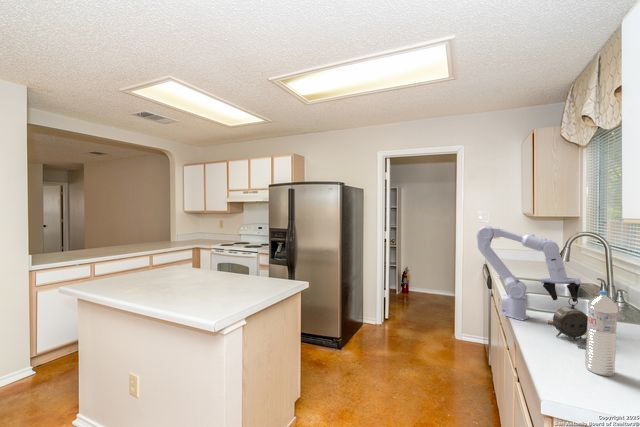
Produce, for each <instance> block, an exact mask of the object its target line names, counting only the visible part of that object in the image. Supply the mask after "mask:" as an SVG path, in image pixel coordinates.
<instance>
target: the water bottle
mask: <svg viewBox="0 0 640 427" xmlns="http://www.w3.org/2000/svg"><path fill="white" fill-rule="evenodd" d="M598 293H599V295H596V296H594V297H593V298H591V299H590V300H589V301H588V303H587V317H588V324H587V335H586V336H585V338H586V350H585V358H584V359H585V360H584V362H585V363H584V365H585V368H586V369H587V370H588V371H590V372H591V373H593V374H596V375H598V376H599V375H600V376H604V377H613V376H614V375H615V370H616V355H617V354H616V353H617V352H616V351H617V338H618V336H617V334H618V333H617V324H618V323H617V321H618V312H619V307H618V305H617V304H616V302H614V301H613V299H611V298H609V297H608V291H606V290H599V292H598Z"/></svg>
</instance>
